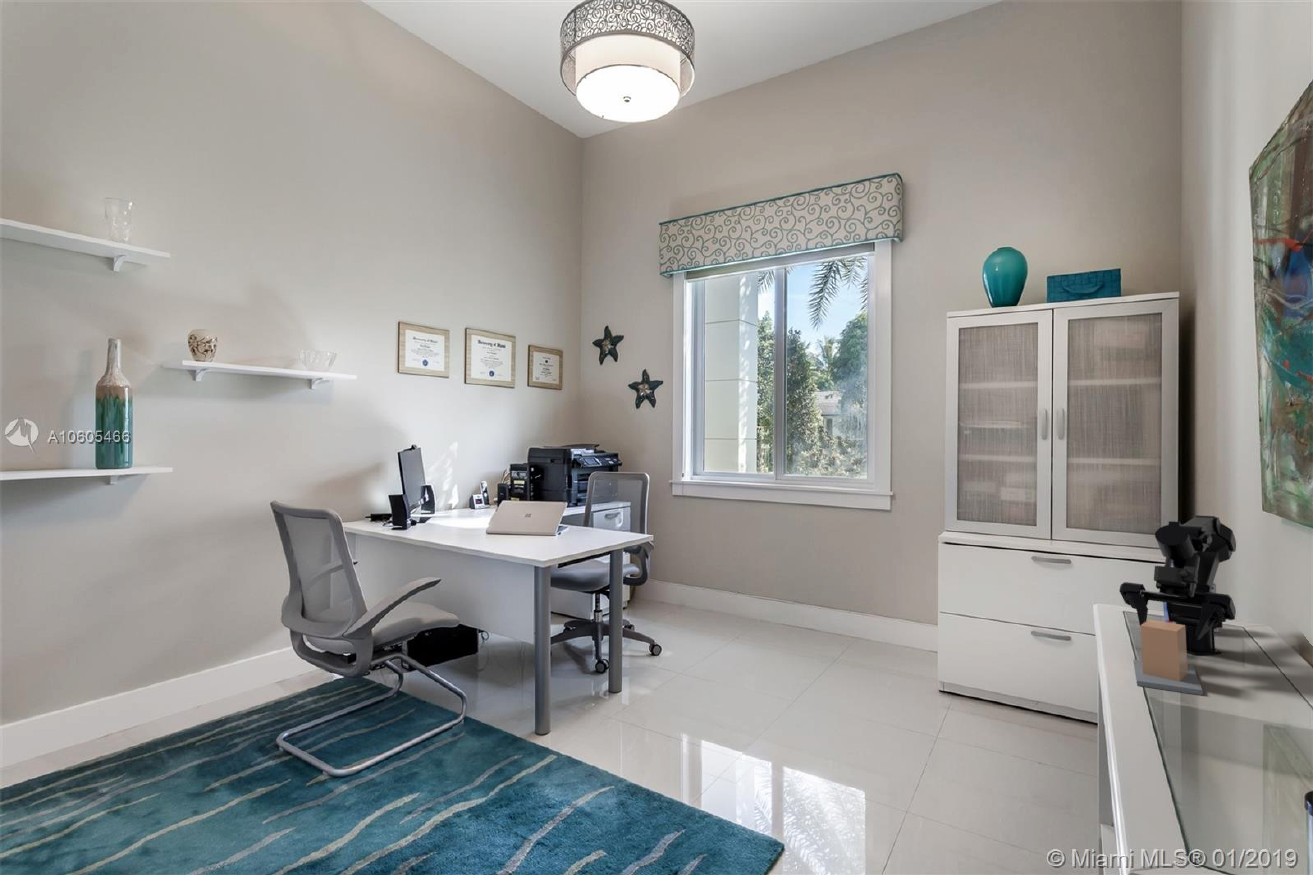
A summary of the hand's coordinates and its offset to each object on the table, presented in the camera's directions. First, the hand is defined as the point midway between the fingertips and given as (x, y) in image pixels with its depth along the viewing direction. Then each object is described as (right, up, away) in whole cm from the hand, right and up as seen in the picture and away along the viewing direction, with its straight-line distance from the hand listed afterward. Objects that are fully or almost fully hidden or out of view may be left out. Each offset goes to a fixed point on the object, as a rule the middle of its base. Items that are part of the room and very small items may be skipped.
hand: (1168, 633), depth 130 cm
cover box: (-3, -7, -2) cm, 8 cm away
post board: (-3, -8, -3) cm, 9 cm away
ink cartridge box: (+28, -8, +27) cm, 40 cm away
